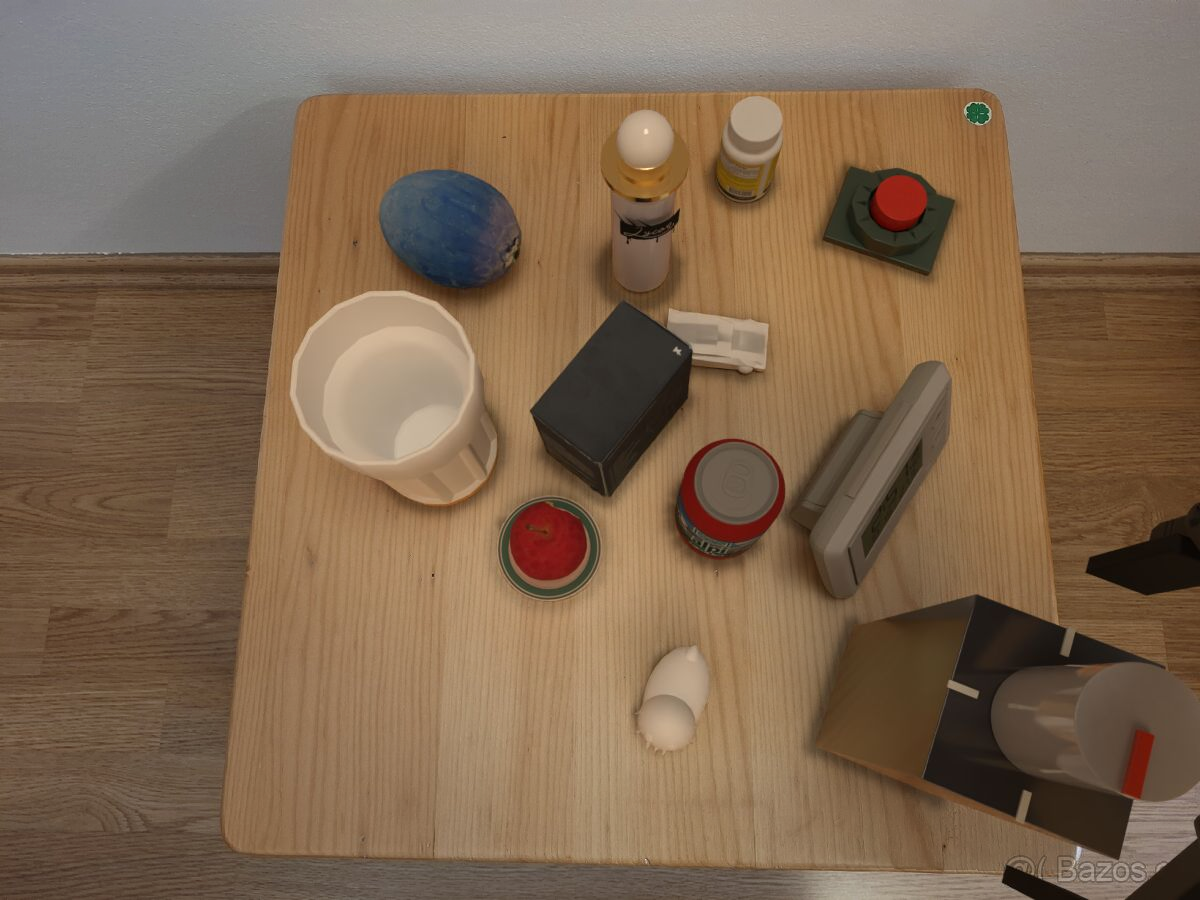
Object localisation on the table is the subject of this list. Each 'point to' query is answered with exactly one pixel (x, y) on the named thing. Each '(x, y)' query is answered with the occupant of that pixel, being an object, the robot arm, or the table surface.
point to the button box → (897, 247)
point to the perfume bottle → (643, 196)
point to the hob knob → (1102, 728)
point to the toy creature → (674, 699)
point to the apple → (549, 548)
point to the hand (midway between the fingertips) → (1078, 725)
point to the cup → (397, 396)
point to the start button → (898, 203)
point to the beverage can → (728, 498)
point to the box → (614, 397)
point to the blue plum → (450, 228)
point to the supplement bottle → (749, 149)
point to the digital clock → (874, 477)
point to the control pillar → (964, 713)
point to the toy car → (722, 340)
